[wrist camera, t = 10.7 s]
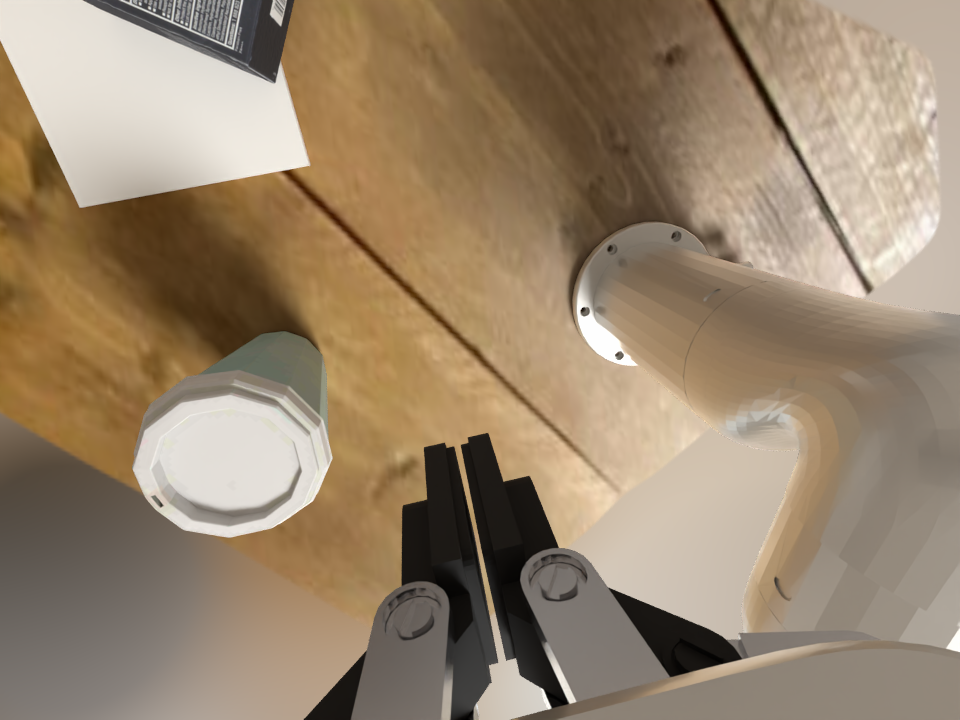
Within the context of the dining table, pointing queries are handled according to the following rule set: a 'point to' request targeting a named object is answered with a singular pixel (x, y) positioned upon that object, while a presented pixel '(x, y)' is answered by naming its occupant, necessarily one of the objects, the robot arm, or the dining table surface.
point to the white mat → (143, 104)
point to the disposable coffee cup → (239, 439)
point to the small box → (215, 28)
